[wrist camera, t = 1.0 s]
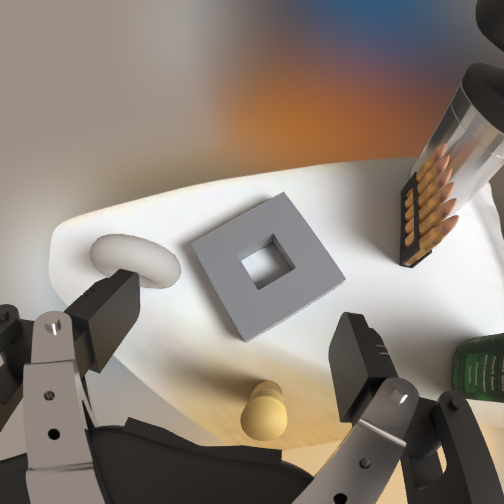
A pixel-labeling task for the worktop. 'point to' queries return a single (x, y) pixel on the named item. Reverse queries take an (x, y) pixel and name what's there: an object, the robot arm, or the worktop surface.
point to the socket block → (281, 290)
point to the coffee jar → (480, 369)
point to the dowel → (264, 412)
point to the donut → (136, 259)
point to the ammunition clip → (426, 209)
